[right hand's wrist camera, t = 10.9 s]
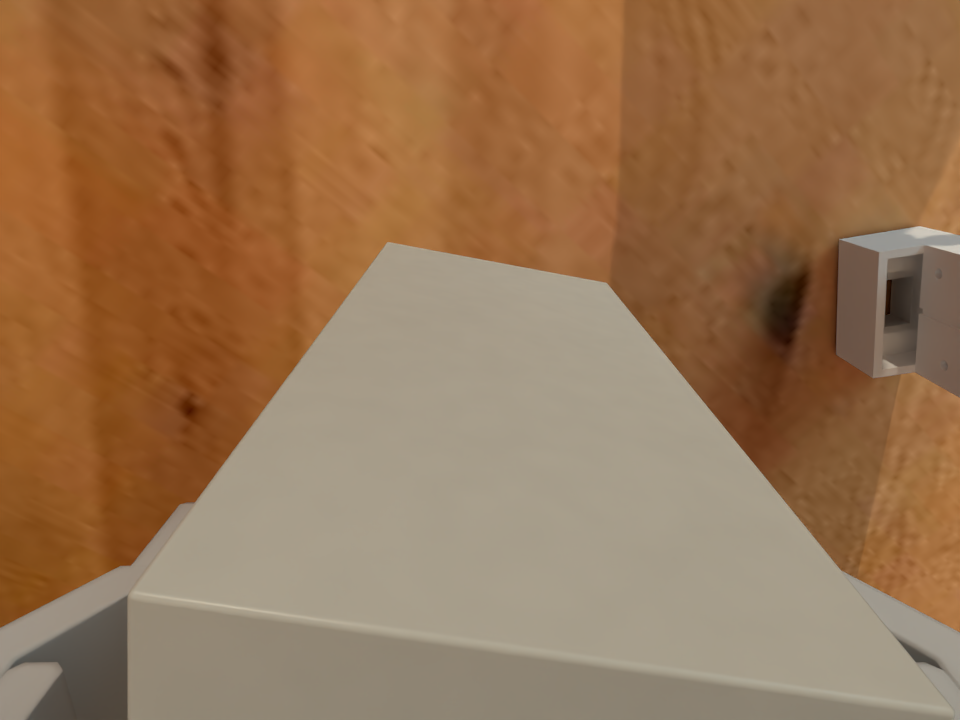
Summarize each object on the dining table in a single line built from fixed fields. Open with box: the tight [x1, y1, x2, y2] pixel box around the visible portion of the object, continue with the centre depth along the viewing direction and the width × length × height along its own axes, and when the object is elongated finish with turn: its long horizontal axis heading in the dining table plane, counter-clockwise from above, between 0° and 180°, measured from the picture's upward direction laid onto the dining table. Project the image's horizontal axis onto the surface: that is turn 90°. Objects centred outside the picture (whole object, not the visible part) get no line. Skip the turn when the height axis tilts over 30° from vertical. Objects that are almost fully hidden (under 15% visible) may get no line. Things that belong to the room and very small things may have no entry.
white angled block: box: [836, 226, 960, 397], centre depth 27 cm, size 4×10×9 cm
